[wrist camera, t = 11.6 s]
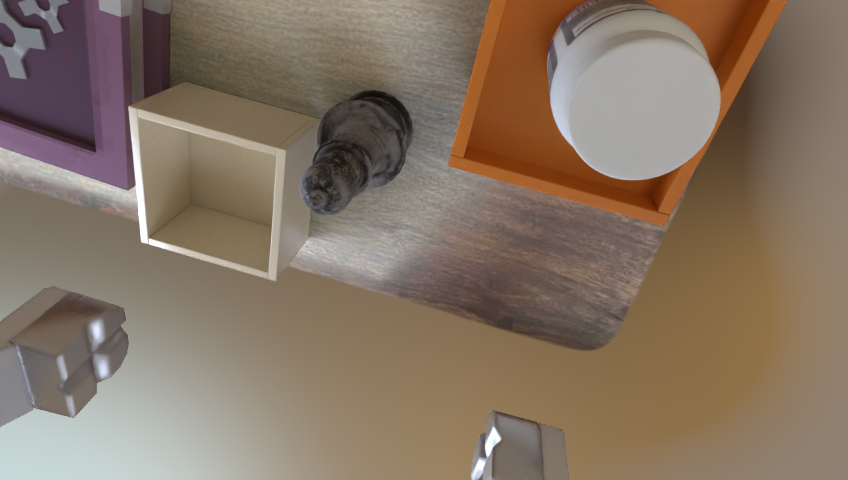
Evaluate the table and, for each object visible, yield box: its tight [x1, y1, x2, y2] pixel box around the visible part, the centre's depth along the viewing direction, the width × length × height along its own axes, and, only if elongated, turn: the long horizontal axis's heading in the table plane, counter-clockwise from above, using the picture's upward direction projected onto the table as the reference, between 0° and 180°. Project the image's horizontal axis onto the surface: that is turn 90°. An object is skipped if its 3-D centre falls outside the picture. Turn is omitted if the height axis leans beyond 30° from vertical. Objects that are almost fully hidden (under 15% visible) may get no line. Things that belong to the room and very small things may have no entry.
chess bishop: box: [300, 90, 413, 215], centre depth 31 cm, size 6×6×12 cm
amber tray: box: [448, 0, 788, 226], centre depth 21 cm, size 10×12×2 cm
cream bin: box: [128, 82, 321, 281], centre depth 37 cm, size 10×10×6 cm
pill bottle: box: [547, 0, 721, 180], centre depth 18 cm, size 5×5×8 cm
